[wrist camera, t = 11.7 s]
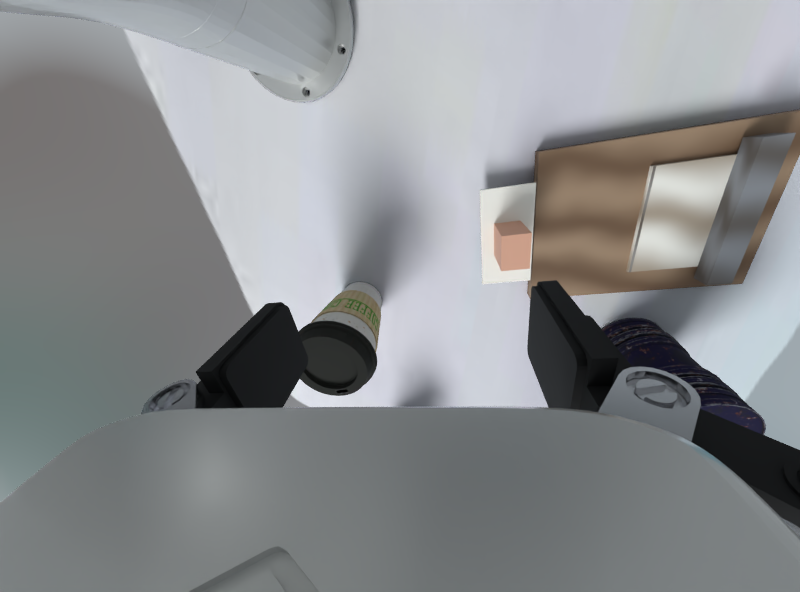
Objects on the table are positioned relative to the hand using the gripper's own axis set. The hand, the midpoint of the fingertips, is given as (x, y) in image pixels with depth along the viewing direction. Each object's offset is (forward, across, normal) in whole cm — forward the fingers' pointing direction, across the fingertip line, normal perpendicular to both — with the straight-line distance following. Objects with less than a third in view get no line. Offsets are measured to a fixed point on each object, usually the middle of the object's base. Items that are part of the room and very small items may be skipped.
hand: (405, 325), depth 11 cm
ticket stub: (+27, -9, +6) cm, 29 cm away
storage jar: (+28, -26, +25) cm, 46 cm away
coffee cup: (+28, +12, +14) cm, 34 cm away
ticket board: (+28, -24, +6) cm, 38 cm away
